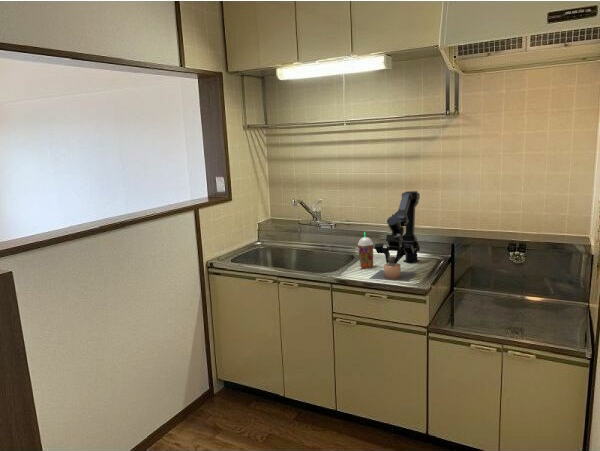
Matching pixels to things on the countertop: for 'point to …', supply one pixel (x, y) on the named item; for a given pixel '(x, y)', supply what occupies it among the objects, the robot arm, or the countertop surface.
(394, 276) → the pump bottle
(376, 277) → the drip mat
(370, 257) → the smoothie
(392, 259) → the pump head
